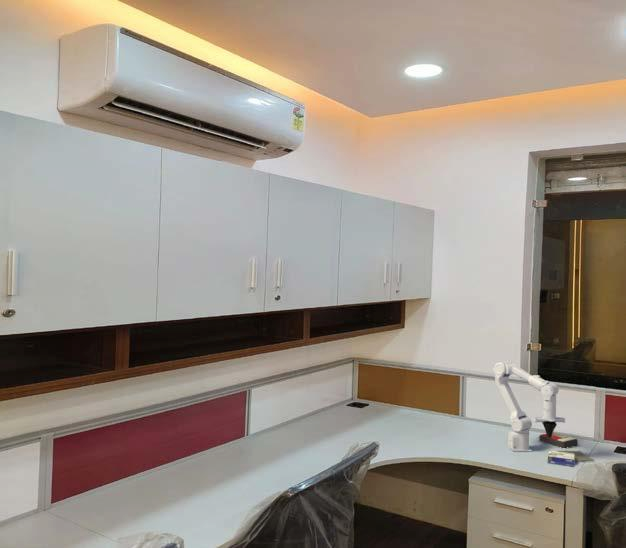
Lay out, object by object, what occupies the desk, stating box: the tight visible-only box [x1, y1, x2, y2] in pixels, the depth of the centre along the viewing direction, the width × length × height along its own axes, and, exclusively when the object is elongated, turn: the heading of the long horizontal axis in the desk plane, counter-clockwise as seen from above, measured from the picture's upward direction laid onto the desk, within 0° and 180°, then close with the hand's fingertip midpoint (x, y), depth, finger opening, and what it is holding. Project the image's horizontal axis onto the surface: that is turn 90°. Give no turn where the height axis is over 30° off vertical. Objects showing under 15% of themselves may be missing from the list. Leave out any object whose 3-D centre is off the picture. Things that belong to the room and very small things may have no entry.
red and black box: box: [538, 431, 579, 449], centre depth 291 cm, size 11×4×15 cm
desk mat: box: [557, 450, 595, 462], centre depth 269 cm, size 11×14×1 cm
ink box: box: [546, 450, 576, 467], centre depth 263 cm, size 12×2×12 cm
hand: (549, 437), depth 269 cm, fingers closed
